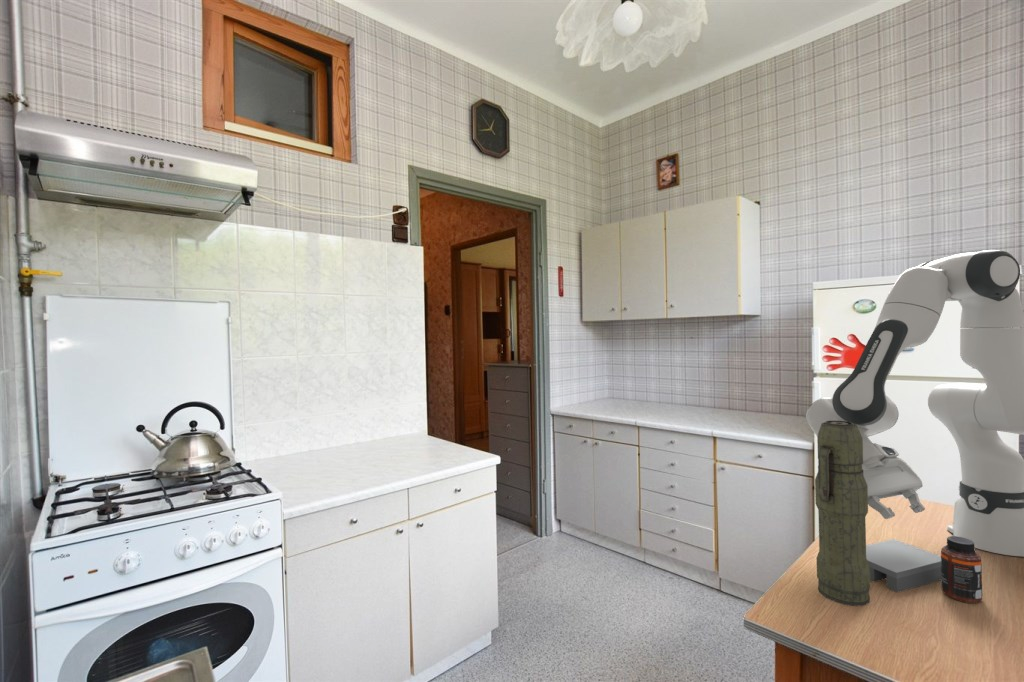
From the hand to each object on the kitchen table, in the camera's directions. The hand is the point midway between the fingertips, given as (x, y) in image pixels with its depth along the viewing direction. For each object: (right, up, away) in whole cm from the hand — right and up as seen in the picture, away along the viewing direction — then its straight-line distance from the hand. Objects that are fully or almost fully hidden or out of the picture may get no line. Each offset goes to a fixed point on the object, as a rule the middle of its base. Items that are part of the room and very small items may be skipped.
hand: (905, 514), depth 104 cm
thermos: (-19, -14, -7) cm, 24 cm away
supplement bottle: (+4, -13, -9) cm, 16 cm away
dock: (-2, -13, +1) cm, 13 cm away
